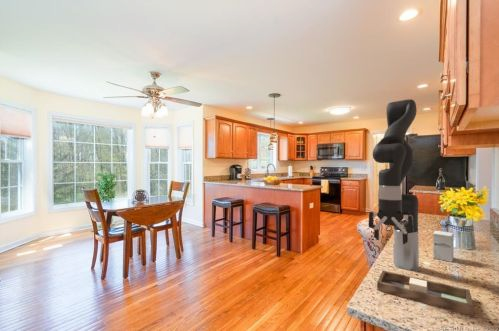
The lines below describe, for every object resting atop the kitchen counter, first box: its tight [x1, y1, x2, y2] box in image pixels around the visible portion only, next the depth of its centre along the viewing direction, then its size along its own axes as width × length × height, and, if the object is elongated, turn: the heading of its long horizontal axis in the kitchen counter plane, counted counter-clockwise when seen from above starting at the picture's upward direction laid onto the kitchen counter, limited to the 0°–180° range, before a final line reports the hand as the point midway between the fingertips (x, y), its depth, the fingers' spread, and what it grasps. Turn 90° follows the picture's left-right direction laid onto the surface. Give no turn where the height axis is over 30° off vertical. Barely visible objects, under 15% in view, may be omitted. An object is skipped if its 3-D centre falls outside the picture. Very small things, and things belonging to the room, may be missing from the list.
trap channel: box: [376, 270, 475, 317], centre depth 85 cm, size 26×12×4 cm, turn 52°
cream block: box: [409, 277, 427, 293], centre depth 85 cm, size 5×5×4 cm
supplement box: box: [432, 230, 454, 263], centre depth 119 cm, size 7×7×13 cm
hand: (390, 241), depth 89 cm, fingers open, 8 cm apart
